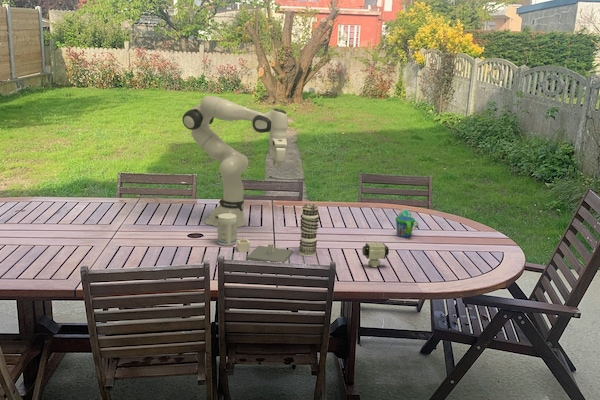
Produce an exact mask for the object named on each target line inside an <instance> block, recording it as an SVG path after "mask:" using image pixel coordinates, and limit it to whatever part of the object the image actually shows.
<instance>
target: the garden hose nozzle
mask: <svg viewBox="0 0 600 400" xmlns="http://www.w3.org/2000/svg"><path fill="white" fill-rule="evenodd" d="M398 216H408V217H412V213H411V212H410V211H409V210H408V209H406V208H403V209H401V210H400V211H399V213H398ZM419 226H420V225H419V221H417V220H416V219H415V222H414V224H413V228H412V232H413V230H414V231H415V230H416V227H419Z"/></svg>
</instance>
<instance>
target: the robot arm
mask: <svg viewBox="0 0 600 400" xmlns="http://www.w3.org/2000/svg"><path fill="white" fill-rule="evenodd" d="M214 118H215V119H218V120H220V121H227V122H232V121H241V120H242V121H248V122H251V123H252V128H253V130H254V131H255V132H256V133H258V134H259V133H260V134H264V133H269V137H268V138H269V141H268V143H269V145H270V149H269V154H270V156H271V157H272V166H274V167H275V166H276V167H275V168H276V170H281V166H282V163H284V162H285V161H286V160H285V159H286V158H285V157H286V153H287V152H286V151H287V150H286V148H287V147H288V142H287V141H288V140H287V136H288V135H287V129H288V113H287V111H286V110H284V109H282V108H272V109H271V110H269V111H267V112H262V111H259V110H255V109H252V108H249V107H246V106H244V105H240V104H239V103H235V102H234V101H232V100H228V99H226V98H223V97H221V96H216V95H205V96H203V97H202V99H201V100H200V103H199V104H196V105H194V106H193V107H192V108H190V109H189V110H187V111H185V113H184V114H183V116H182V124H183V125H184V127H185V128H186V129H188V130H190V131H191V134H190V135H191V137H192V138H193V140H194V141H195V142H196V144H197V145H198V146H199V147H200V148H201V149H203V151H204V152H205V153H206V154H207V155H208V156H209V157H210V158H211V159H213V160H216V161H218V162H219V163H220V164H219V167H218V170H219V174H221V178H222V185H223V189H222V190H223V197H222V198H221V199H220V200H219V201H218V204H219V205H218V206H216V207H215V208H214V209H212V210H211V211H210V213H209V217H208V218H206V219H204V220H205V221H204V224H205V225H210V226H213V227H218V215H220V214H224V213H231V214H235V215H236V218H237V228H241V227H244V226H245V225H246V221H245V217H244V209H245V200H244V191H245V189H244V188H245V187H244V184H243V181H242V173H244V172H245V171H246V170H247V168H248V167H249V159H248V157H247V156H246V155H245V154H244V153H241V152H239V151H238V150H236V149H234V148H233V147H232V146H230V145H229V144H227V143H226V142H225V140H223V139H222V138H221V137H220V136H218V134H217V133H216V132H214V131H213V130H212V128H211V127H210V125H211V124H213V122H214Z"/></svg>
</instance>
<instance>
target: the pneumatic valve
mask: <svg viewBox="0 0 600 400" xmlns="http://www.w3.org/2000/svg"><path fill="white" fill-rule="evenodd" d="M361 249H362V251H361V253H362V256H364V257H365V258H366V259H367V260H368V266H370V267H371V266H372V267H371V268H376V267H375V266H379V267H380V266H381V260H382V259H383V260H386V257H388V256H389V253H390V248H389V246H387V245H386V244H385V243H384V242H366V243H365V245H364V246H363V247H362V248H361Z"/></svg>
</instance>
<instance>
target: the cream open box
mask: <svg viewBox="0 0 600 400" xmlns="http://www.w3.org/2000/svg"><path fill="white" fill-rule="evenodd" d="M236 250H237V252H238V253H242V252H243V253H248V252H250V253H251V242H250V241H249V238H248V239H247V238H245V239H244V238H241V239H236Z"/></svg>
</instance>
